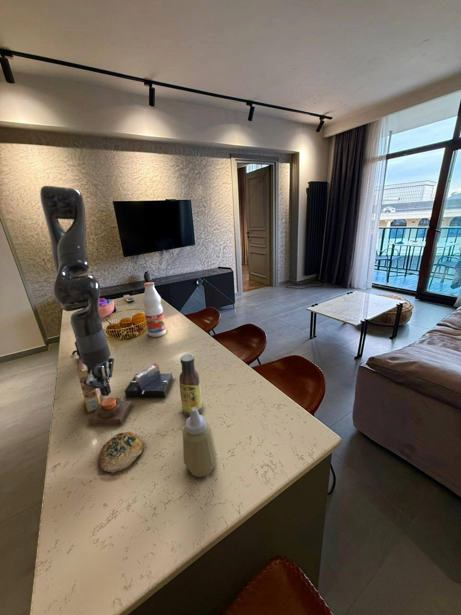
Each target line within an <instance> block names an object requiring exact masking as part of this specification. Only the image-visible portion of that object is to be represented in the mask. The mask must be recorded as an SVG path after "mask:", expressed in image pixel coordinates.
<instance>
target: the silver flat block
mask: <svg viewBox="0 0 461 615" xmlns="http://www.w3.org/2000/svg"><path fill="white" fill-rule="evenodd" d="M136 374H137V375H136ZM136 374H134V377H135V379H136V384H137V388H139V389H142V388H144V387H145V386H147V385H148V384H150V383H151V382H153V381H154V380H155V379H157V378H158V377H160V376H161V375H160V374H161V370H160V365H159V364H158V363H157V362H154V363H152V364H151V365H150V366H148V367H147V368H145V369H143V370H142V371H140V372H138V373H136Z"/></svg>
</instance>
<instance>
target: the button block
mask: <svg viewBox="0 0 461 615" xmlns="http://www.w3.org/2000/svg"><path fill="white" fill-rule="evenodd" d="M114 398H115V400H116V403H117V404H116V406H115V407H114V408H113V409H110V410H103V407H102V402H103V401H104V400H101V403H100V405H99V406H98V407H97V409H96V410H93V412H92V414H90V417H89V418H88V422H89V425H101V426H102V425H107V426H108V425H109V426H111V425H115V426H116V425H117V426H119V425H120V426H121V425H122V424H123V423H124V422H125V420H126V418H127V416H128V415H129V413H130V411H131V409H132V407H133V403H132V400H122V399H121V398H119V397H114Z"/></svg>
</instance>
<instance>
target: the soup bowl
mask: <svg viewBox="0 0 461 615" xmlns="http://www.w3.org/2000/svg"><path fill="white" fill-rule="evenodd" d="M114 310H115V300H114V299H111V298H110V299H109V298H108V299H106V298H105V297H99V314H100V319H103V318H105V317H107V316H110V315H111V314H112V313H113V312H114Z"/></svg>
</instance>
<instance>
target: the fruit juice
mask: <svg viewBox="0 0 461 615" xmlns="http://www.w3.org/2000/svg"><path fill="white" fill-rule="evenodd" d="M143 286H144V293H143V297H142V304H143V306H144V308H143V312H144V317H145V323H146V324H145V325H146V328H147V334H148V336H149V337H152V338H157V337H162V336H164V335H165V334H166V333H167V328H166V320H165V314H164V308H163V306H162V297H161V295H160V294H159V293H158V291H157V290H156V288H155V282H154V281H148V282H145V283H143Z"/></svg>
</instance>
